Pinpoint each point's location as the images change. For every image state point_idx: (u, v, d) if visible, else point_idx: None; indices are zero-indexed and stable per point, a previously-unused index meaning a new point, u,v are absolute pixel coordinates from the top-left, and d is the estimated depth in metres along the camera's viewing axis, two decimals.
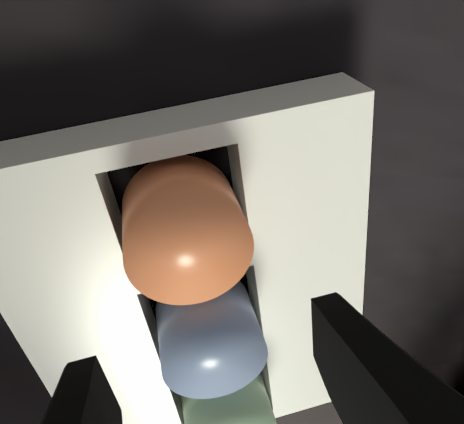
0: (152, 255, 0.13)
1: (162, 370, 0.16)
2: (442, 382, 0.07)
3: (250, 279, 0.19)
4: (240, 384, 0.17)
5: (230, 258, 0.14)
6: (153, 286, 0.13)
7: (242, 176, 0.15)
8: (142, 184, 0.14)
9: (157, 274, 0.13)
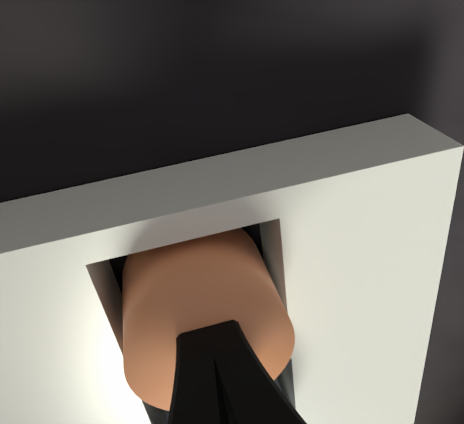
0: (163, 360, 0.10)
1: None
2: None
3: None
4: None
5: (263, 357, 0.10)
6: (163, 394, 0.10)
7: (283, 257, 0.11)
8: (149, 260, 0.10)
9: (169, 381, 0.10)
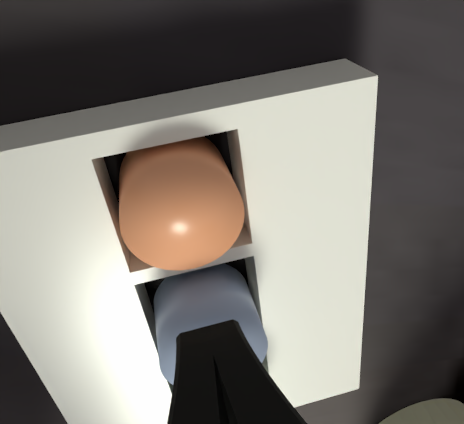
0: (147, 220, 0.13)
1: (160, 362, 0.15)
2: None
3: (250, 271, 0.19)
4: None
5: (222, 224, 0.14)
6: (148, 251, 0.14)
7: (242, 163, 0.14)
8: (138, 154, 0.14)
9: (152, 239, 0.14)
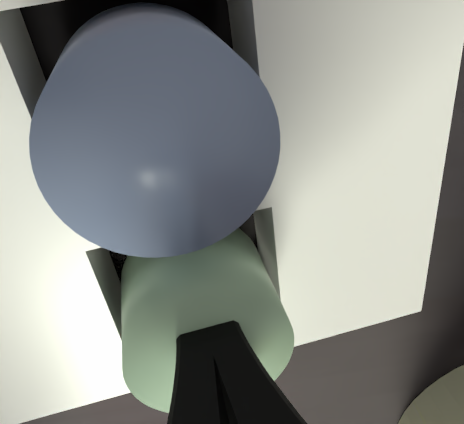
0: None
1: (32, 160, 0.07)
2: None
3: (243, 58, 0.10)
4: (221, 226, 0.08)
5: None
6: None
7: None
8: None
9: None
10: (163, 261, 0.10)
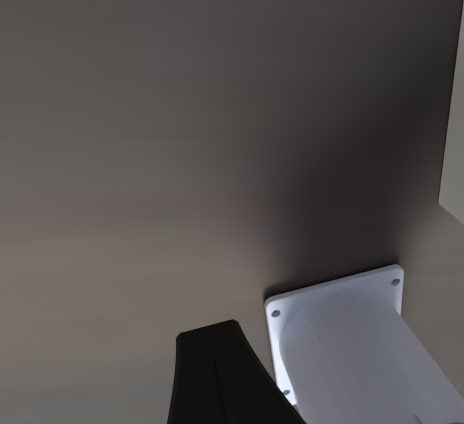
0: None
1: None
2: None
3: None
4: None
5: None
6: None
7: None
8: None
9: None
10: None
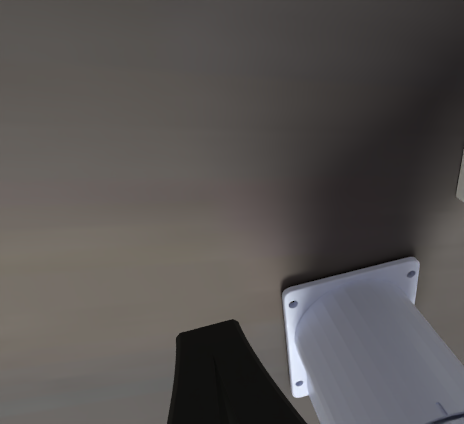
0: None
1: None
2: None
3: None
4: None
5: None
6: None
7: None
8: None
9: None
10: None
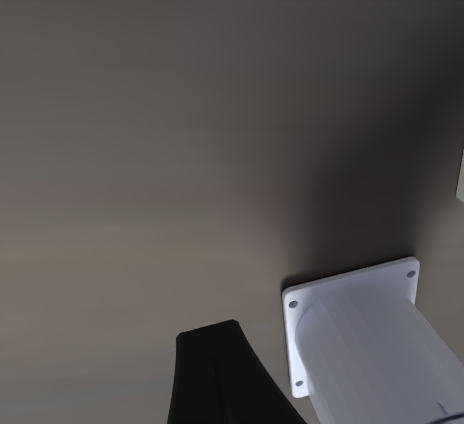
0: None
1: None
2: None
3: None
4: None
5: None
6: None
7: None
8: None
9: None
10: None
